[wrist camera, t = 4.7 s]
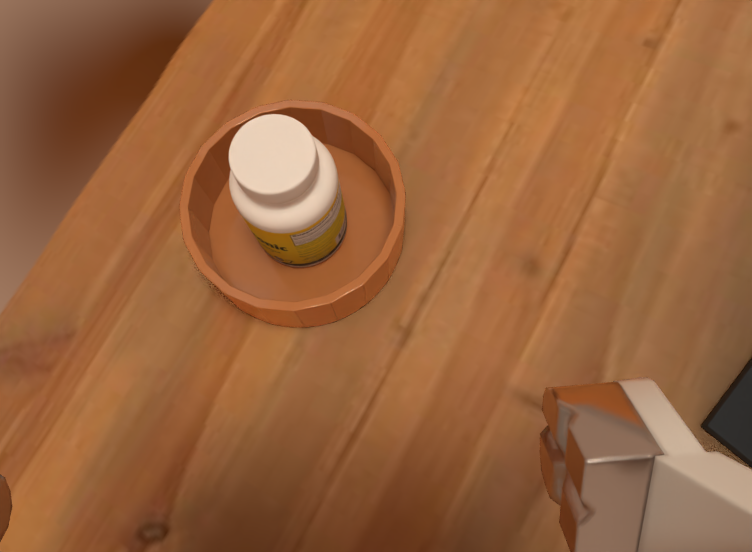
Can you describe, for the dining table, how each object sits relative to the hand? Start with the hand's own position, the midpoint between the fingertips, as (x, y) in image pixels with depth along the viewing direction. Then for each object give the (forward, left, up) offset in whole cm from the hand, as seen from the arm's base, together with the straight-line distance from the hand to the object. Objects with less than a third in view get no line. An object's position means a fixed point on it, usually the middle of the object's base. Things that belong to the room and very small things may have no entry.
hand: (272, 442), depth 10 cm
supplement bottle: (-7, -11, -27) cm, 30 cm away
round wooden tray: (-7, -11, -27) cm, 30 cm away
